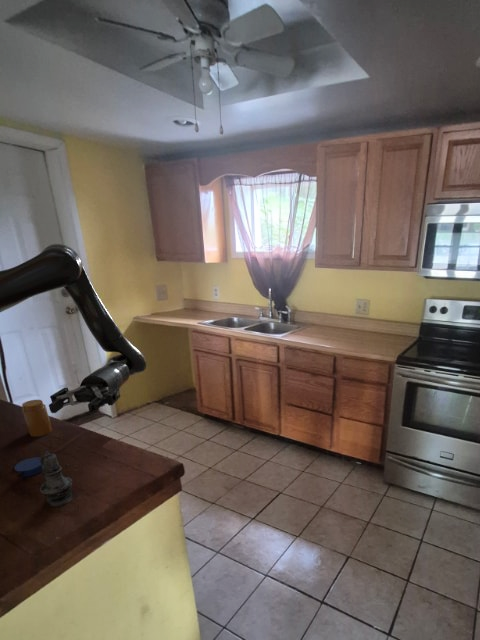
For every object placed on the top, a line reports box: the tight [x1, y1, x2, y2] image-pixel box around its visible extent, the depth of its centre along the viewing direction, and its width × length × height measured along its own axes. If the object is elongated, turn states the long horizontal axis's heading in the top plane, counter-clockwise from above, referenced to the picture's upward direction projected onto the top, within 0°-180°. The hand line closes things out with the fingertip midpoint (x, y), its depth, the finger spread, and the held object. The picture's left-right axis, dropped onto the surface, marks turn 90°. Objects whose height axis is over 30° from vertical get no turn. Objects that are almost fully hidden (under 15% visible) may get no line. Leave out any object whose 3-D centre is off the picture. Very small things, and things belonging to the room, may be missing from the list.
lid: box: [13, 456, 43, 478], centre depth 89 cm, size 6×6×2 cm
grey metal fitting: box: [39, 450, 75, 508], centre depth 77 cm, size 6×6×12 cm
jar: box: [21, 399, 53, 438], centre depth 103 cm, size 5×5×10 cm
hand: (70, 409), depth 84 cm, fingers open, 8 cm apart
